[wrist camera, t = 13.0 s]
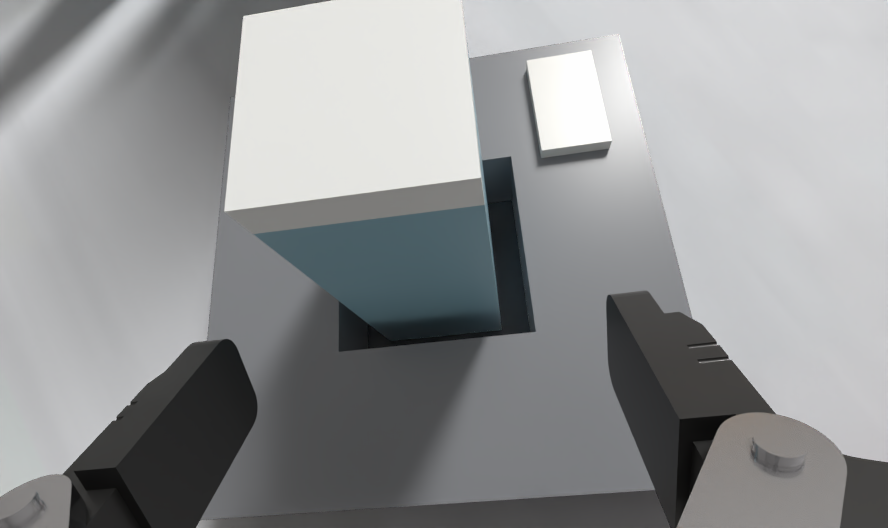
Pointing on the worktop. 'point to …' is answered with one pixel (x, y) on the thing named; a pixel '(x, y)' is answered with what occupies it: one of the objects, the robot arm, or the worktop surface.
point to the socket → (476, 359)
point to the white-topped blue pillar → (368, 160)
